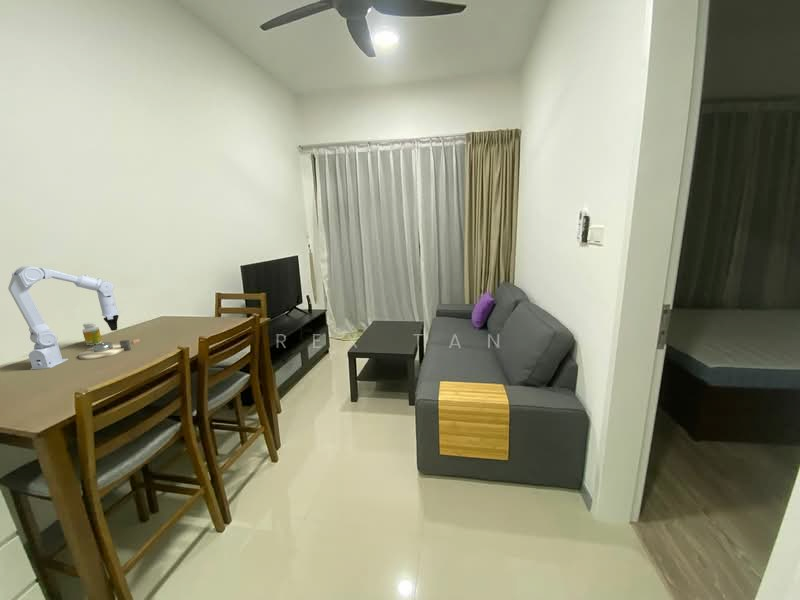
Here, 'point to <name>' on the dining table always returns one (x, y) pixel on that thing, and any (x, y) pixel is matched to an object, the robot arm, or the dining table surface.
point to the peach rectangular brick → (135, 340)
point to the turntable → (116, 349)
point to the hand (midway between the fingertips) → (114, 330)
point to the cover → (102, 347)
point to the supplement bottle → (91, 333)
